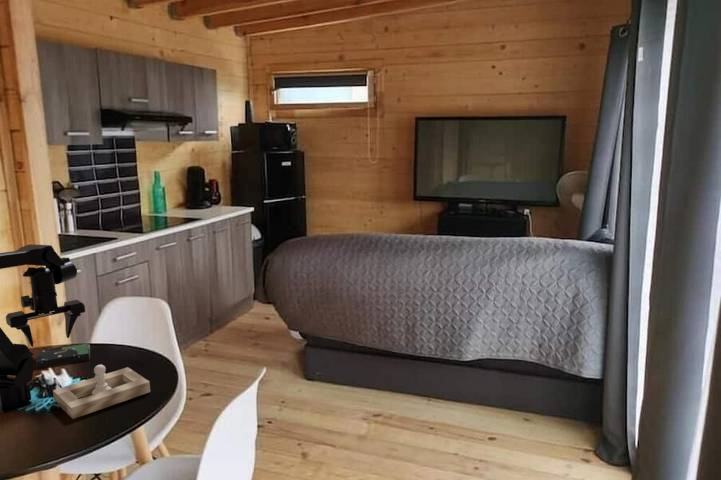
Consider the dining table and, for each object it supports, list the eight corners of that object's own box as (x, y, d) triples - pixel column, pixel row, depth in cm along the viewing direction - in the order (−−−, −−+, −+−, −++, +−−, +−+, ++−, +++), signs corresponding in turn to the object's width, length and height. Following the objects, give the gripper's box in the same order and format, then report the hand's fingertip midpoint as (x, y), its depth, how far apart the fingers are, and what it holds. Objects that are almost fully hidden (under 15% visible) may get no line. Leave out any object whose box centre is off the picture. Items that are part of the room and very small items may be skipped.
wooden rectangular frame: (72, 419, 136) (71, 408, 135) (54, 400, 146) (52, 390, 145) (150, 391, 150) (149, 381, 149) (128, 376, 160) (127, 367, 159)
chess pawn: (114, 391, 151) (111, 360, 149) (111, 399, 146) (107, 367, 144) (94, 393, 150) (90, 362, 148) (90, 401, 145) (87, 370, 143)
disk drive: (36, 370, 166) (90, 360, 173) (35, 362, 166) (89, 352, 172) (39, 358, 175) (90, 349, 182) (38, 350, 175) (89, 341, 181)
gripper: (70, 277, 164) (75, 326, 167) (-3, 290, 151) (5, 343, 154) (83, 284, 156) (88, 336, 159) (7, 298, 143) (15, 354, 146)
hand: (50, 341), depth 155 cm, fingers open, 9 cm apart
